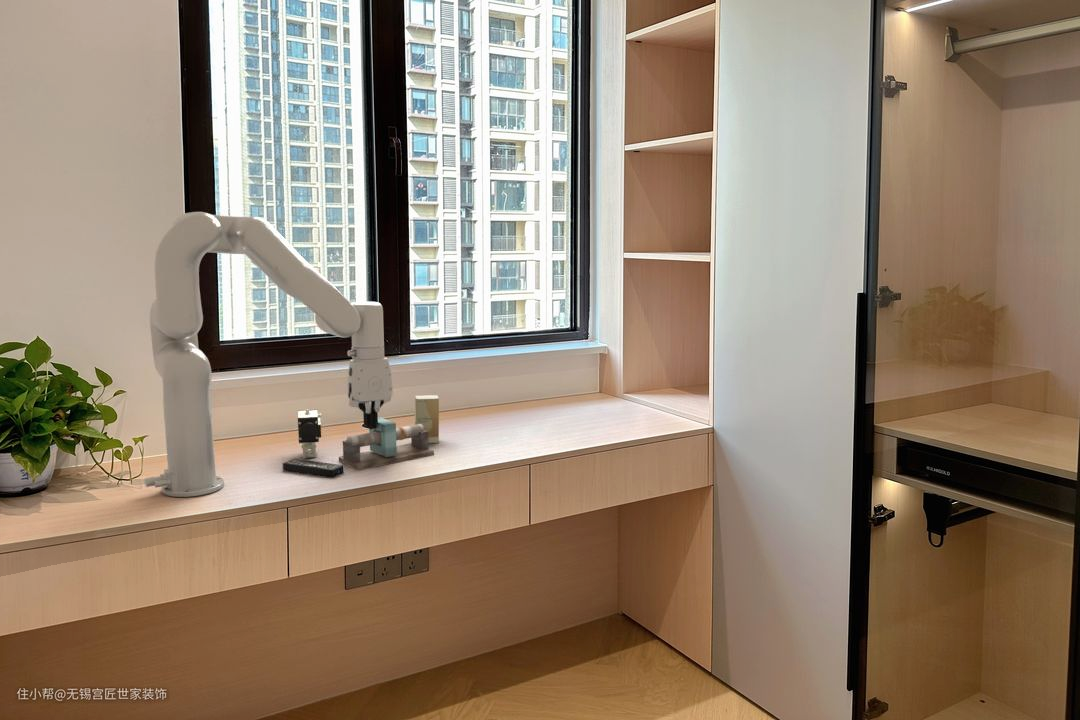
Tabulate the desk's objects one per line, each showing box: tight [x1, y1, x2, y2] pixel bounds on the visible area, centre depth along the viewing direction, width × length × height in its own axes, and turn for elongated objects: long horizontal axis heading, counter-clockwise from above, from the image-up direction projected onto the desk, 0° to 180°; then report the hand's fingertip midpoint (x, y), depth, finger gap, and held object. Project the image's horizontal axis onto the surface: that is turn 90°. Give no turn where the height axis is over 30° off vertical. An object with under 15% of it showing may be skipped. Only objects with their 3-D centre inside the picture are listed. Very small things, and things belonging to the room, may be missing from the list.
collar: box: [368, 416, 397, 457], centre depth 207 cm, size 3×8×8 cm, turn 39°
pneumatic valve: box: [297, 408, 322, 460], centre depth 208 cm, size 6×12×12 cm, turn 15°
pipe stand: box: [338, 424, 435, 471], centre depth 207 cm, size 21×10×7 cm, turn 129°
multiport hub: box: [282, 458, 345, 479], centre depth 196 cm, size 4×14×2 cm, turn 66°
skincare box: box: [414, 394, 440, 444], centre depth 222 cm, size 6×4×12 cm
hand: (370, 427), depth 204 cm, fingers closed
